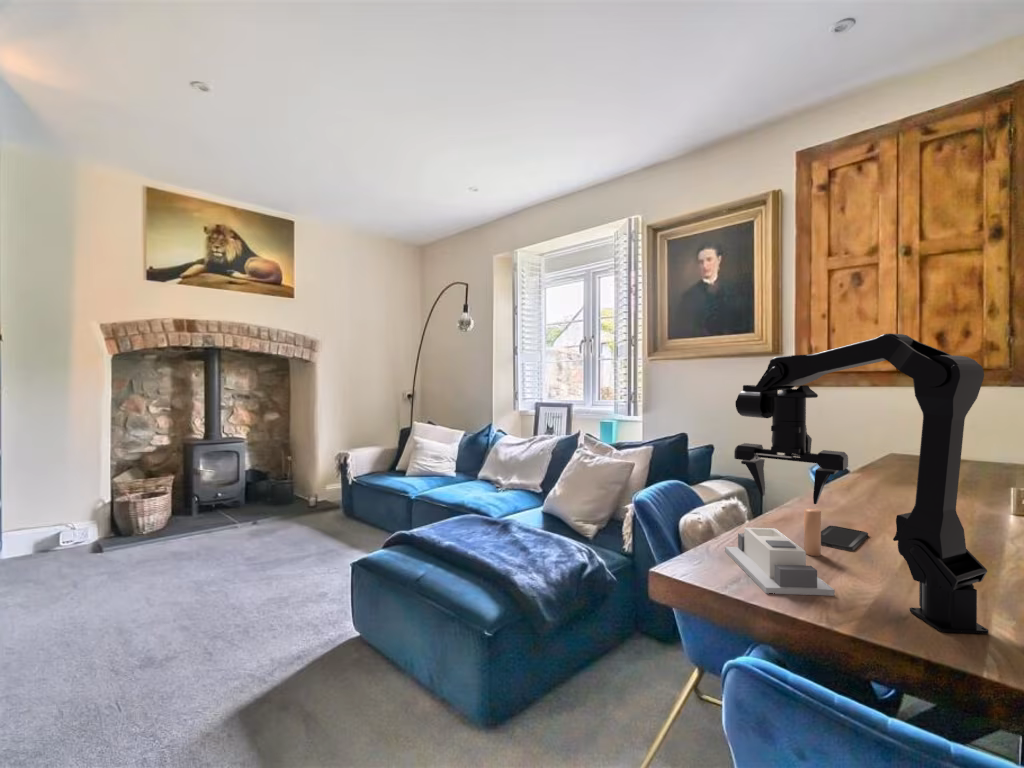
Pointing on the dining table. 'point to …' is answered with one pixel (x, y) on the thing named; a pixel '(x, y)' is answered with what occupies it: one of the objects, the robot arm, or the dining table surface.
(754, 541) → the white socket block
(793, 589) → the board
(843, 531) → the phone
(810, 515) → the orange-brown tapered capsule
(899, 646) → the dining table surface
